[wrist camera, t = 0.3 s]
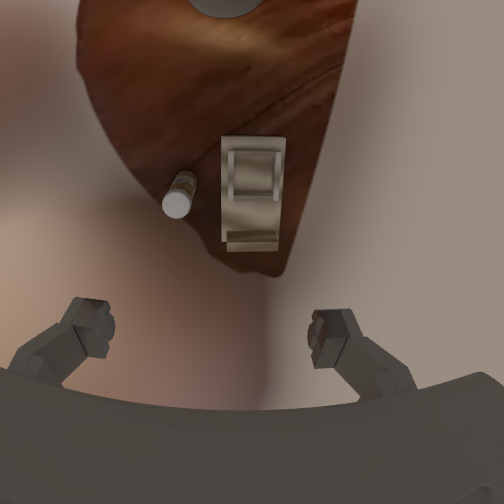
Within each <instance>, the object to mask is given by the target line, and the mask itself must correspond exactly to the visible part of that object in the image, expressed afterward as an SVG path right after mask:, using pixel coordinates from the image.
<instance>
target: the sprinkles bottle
mask: <svg viewBox="0 0 504 504" xmlns="http://www.w3.org/2000/svg"><path fill="white" fill-rule="evenodd" d="M196 185H197V178H196V176H195V174H193V173H192V172H190V171H182V172H180V173H178V174H177V176H176V178H175V180H174V181H173V183H172V185H171V187H170V190H169V192H168V193H167V194H166V195H165V197H164V199H163V202H162V207H163V210H164V212H165V213H166V214H167V215H168V216H169V217H172V218H182V217H184V216H185V215H186V214H187V213H188V212H189V210H190V207H191V201H192V198H193V195H194V192H195V187H196Z"/></svg>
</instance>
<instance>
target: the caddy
mask: <svg viewBox="0 0 504 504" xmlns="http://www.w3.org/2000/svg"><path fill="white" fill-rule="evenodd" d="M285 145H286V138H285V137H276V136H221V214H222V242H227V252H242V251H278V243H279V242H278V238H279V227H280V214H281V202H282V189H283V175H284V161H285Z"/></svg>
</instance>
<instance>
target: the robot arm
mask: <svg viewBox="0 0 504 504" xmlns="http://www.w3.org/2000/svg"><path fill="white" fill-rule="evenodd" d="M189 1H190V3H191V4H192V5H193V6H194V7H195V8H196V9H197V10H198V11H200V12H202V13H203V14H206V15H208V16H212V17H217V18H232V17H237V16H241V15H244V14H246V13H248V12H250V11H252V10H253V9H255V8H256V7H257V6H258V5H259V4H260V3H261V2H262V1H263V0H189ZM110 309H111V307H110V305H109V302H108V301H104V300H96V299H89V298H80V297H75V298H74V299H73V301H72V302H71V304H70V305H69V307H68V309H67V311H66V312H65V314H64V316H63V318H62V320H61V321H60V323H56V324H54V325H53V326H51V327H50V328H48V329H47V330H45V331H43V332H42V333H40V334H39V335H38V336H36V337H35V338H33V339H31V340H30V341H29V342H27V343H26V344H24V345H23V346H21V347H20V348H18V350H17V351H16V353H15V355H14V357H13V359H12V361H11V363H10V365H9V367H8V369H4V368H1V367H0V504H504V386H503V385H501V384H500V383H499V382H498V381H496V380H495V379H493V378H492V377H491V376H489V375H487V374H485V373H484V372H476V373H472V374H470V375H466V376H464V377H460V378H458V379H454V380H451V381H448V382H444V383H441V384H438V385H434V386H431V387H427V388H423V389H419V390H418V389H417V386H416V384H415V382H414V380H413V378H412V375H411V373H410V371H409V369H408V367H407V366H405V365H404V364H403V363H401V362H400V361H399V360H397V359H396V358H395V357H393V356H392V355H391V354H389V353H388V352H387V351H385V350H384V349H383V348H381V347H380V346H379V345H377V344H376V343H374V342H373V341H372V340H370V339H369V338H368V337H363V334H362V332H361V330H360V327H359V325H358V323H357V321H356V319H355V316H354V314H353V312H352V310H351V309H326V310H314V312H313V314H312V320H313V322H312V323H311V324H310V325H309V328H308V335H307V338H308V345H309V348H311V349H312V350H313V352H312V355H311V357H312V361H313V365H314V368H315V369H319V368H334V369H335V370H336V371H337V372H338V373H339V374H340V376H342V378H343V379H344V380H345V381H346V382H347V383H348V384H349V385H350V386H351V387H352V388H353V389H354V390H355V391H356V392H357V393H358V394H359V395H360V396H361V397H360V398H359V400H358V401H357V402H353V403H346V404H339V405H331V406H322V407H312V408H300V409H285V410H258V411H257V410H256V411H231V410H228V411H227V410H203V409H188V408H176V407H165V406H157V405H149V404H142V403H134V402H128V401H122V400H117V399H111V398H105V397H100V396H96V395H91V394H87V393H83V392H78V391H74V390H70V389H66V388H64V387H63V386H62V384H61V383H62V382H63V381H64V379H66V378H67V377H68V376H69V375H70V374H71V373H72V372H73V371H74V370H75V369H76V368H77V367H78V366H79V365H80V364H81V363H82V362H83V361H84V360H85V359H86V358H87V356H88V357H95V358H102V359H105V358H106V355H107V353H108V350H109V344H108V341H110V340H111V339H112V338H113V336H114V332H115V321H114V317H113V316H112V315H111V314H110V313H109V311H110Z"/></svg>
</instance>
